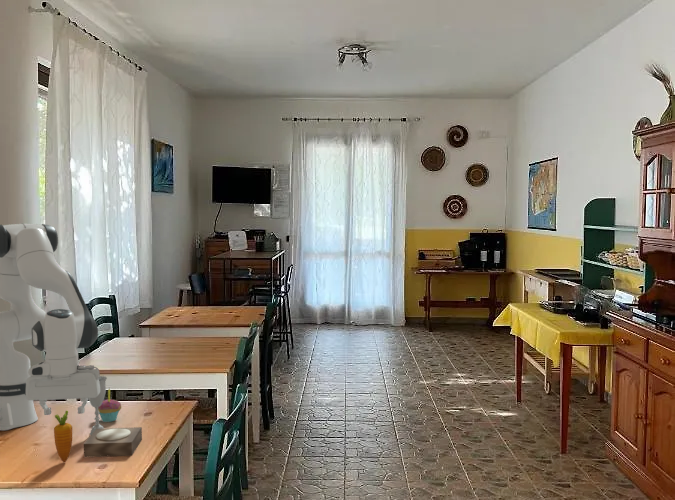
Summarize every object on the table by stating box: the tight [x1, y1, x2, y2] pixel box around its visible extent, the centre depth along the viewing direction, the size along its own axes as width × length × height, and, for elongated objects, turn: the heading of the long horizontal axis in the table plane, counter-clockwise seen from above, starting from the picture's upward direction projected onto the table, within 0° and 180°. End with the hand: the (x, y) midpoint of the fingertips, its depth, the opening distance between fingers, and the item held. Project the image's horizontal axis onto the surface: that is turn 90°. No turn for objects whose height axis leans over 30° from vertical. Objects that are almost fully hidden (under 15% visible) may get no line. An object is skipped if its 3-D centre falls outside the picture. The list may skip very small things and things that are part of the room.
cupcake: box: [98, 387, 122, 423], centre depth 241 cm, size 9×8×12 cm
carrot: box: [53, 410, 73, 463], centre depth 201 cm, size 5×5×15 cm
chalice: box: [88, 375, 108, 436], centre depth 227 cm, size 7×7×18 cm
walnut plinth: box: [83, 426, 143, 458], centre depth 213 cm, size 14×14×4 cm
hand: (64, 413), depth 200 cm, fingers open, 8 cm apart
